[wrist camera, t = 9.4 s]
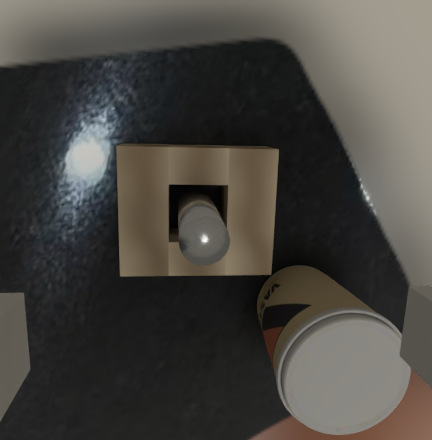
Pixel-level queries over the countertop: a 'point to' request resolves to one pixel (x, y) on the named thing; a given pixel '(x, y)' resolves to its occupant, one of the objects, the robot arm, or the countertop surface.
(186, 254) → the peg
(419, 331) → the robot arm
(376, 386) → the coffee cup
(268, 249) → the hole block
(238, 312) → the countertop surface
